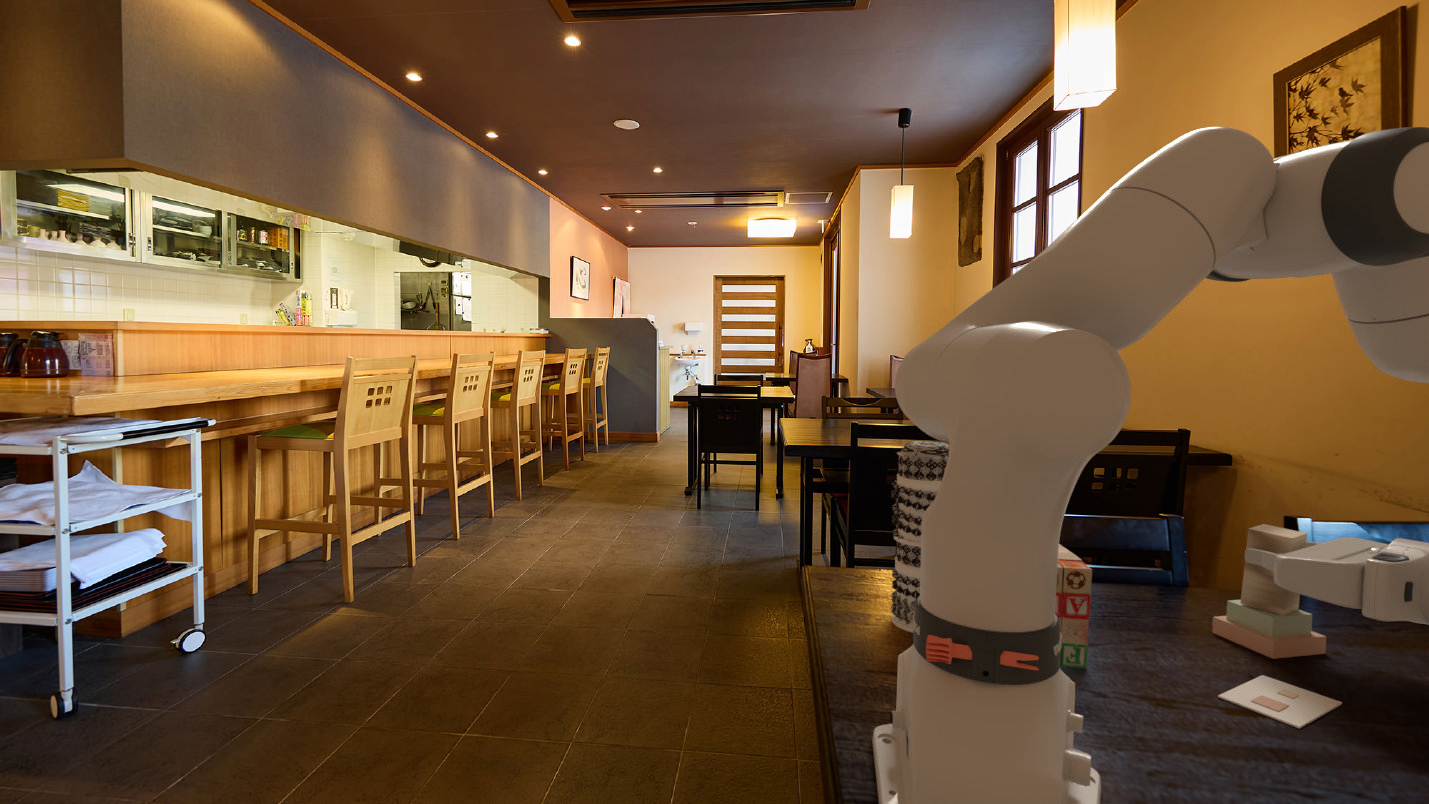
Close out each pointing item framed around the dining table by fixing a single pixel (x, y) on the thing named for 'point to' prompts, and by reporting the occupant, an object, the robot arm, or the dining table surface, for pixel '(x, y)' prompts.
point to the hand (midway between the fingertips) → (1263, 549)
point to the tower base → (1269, 642)
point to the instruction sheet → (1280, 701)
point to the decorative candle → (913, 520)
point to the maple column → (1260, 579)
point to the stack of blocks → (1073, 608)
